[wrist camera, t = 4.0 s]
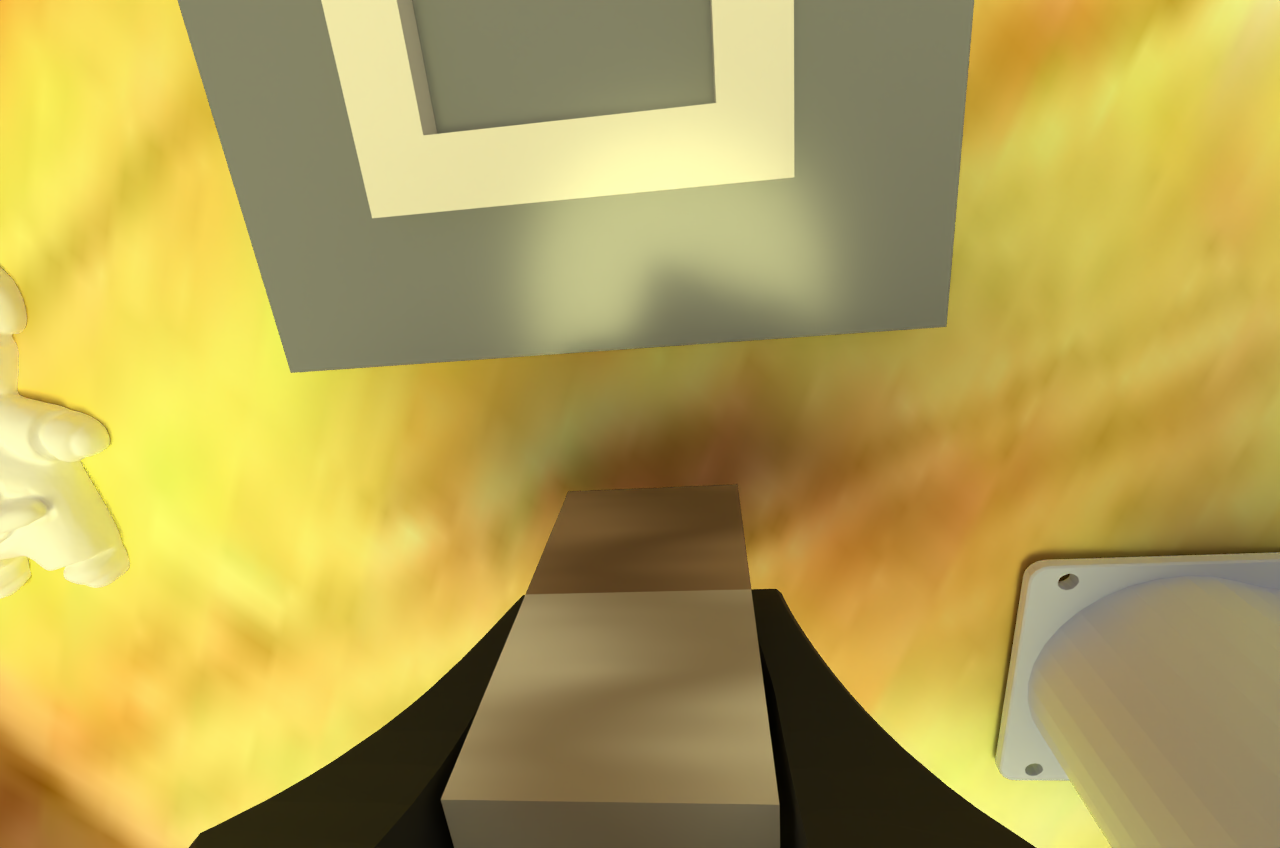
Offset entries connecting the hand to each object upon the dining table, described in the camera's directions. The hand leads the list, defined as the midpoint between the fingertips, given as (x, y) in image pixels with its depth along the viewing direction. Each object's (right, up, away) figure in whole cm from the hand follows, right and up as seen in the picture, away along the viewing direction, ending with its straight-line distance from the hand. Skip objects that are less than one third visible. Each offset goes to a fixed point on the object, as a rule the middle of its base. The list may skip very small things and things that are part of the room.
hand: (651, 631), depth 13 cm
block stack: (0, +1, +2) cm, 3 cm away
